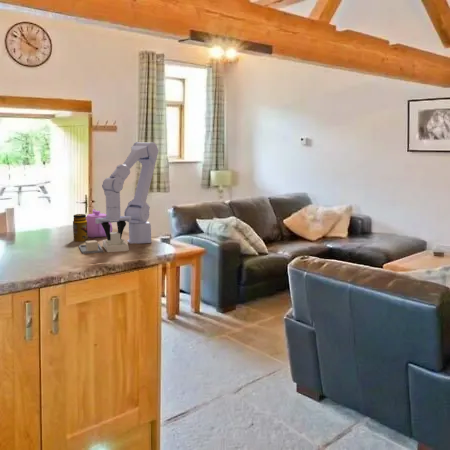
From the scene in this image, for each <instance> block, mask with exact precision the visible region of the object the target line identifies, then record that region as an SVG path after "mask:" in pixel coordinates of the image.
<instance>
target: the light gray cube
mask: <svg viewBox="0 0 450 450" xmlns="http://www.w3.org/2000/svg"><path fill="white" fill-rule="evenodd" d="M108 242H109V243H110V244H115V243H120V233H118V231H112V232H110V240H109V241H108Z"/></svg>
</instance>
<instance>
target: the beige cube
mask: <svg viewBox="0 0 450 450" xmlns="http://www.w3.org/2000/svg"><path fill="white" fill-rule="evenodd" d="M98 244H99V242H98V240H97V239H93V240H87V241H85V245H86V251H97V250H98Z"/></svg>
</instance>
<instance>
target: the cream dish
mask: <svg viewBox="0 0 450 450" xmlns="http://www.w3.org/2000/svg"><path fill="white" fill-rule="evenodd" d="M102 248H104V250H105V252H107V253H116V252H128V251H129V243H128V242H127V241H125V239H124V238H121V239H120V243H115V244H110V243H109V242H108V240H107V239H103V240H102Z"/></svg>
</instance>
